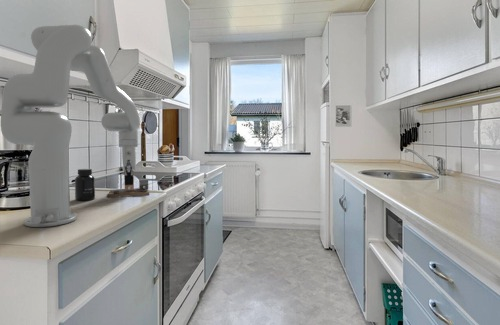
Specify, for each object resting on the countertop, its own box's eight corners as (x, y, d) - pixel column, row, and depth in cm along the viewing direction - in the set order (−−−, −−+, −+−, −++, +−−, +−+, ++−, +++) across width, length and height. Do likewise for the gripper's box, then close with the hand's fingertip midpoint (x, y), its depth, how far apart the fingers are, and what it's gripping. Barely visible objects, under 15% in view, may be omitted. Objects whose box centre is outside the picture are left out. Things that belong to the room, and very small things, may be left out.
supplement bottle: (89, 201, 114) (88, 170, 113) (71, 201, 114) (70, 170, 113) (98, 198, 121) (97, 168, 120) (81, 197, 121) (81, 168, 120)
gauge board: (149, 194, 129) (149, 180, 128) (108, 197, 123) (107, 182, 122) (148, 191, 137) (147, 178, 136) (109, 193, 131) (109, 179, 130)
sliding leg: (133, 190, 126) (133, 171, 125) (124, 190, 125) (124, 171, 124) (133, 188, 132) (133, 170, 131) (124, 188, 130) (124, 170, 130)
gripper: (138, 144, 121) (138, 185, 123) (137, 143, 137) (137, 180, 139) (118, 144, 119) (119, 186, 120) (119, 143, 134) (120, 180, 136)
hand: (129, 183), depth 129 cm, fingers open, 9 cm apart
